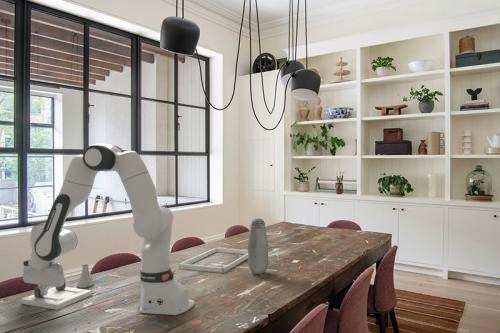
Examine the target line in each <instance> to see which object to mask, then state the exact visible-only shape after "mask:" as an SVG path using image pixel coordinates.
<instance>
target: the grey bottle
mask: <svg viewBox="0 0 500 333" xmlns="http://www.w3.org/2000/svg"><path fill="white" fill-rule="evenodd" d="M249 227H250V229H249V234H248V239H247V250H248V259H247V261H248V268H249V271H251V273H252V274H255V275H262V274H264V273H266V272H267V271H268V267H269V239H268V235H267V231H266V230H267V229H266V223H265V221H264V219H261V218H260V217H259V218H254V219H253V220H252V221H251V223H250V226H249Z"/></svg>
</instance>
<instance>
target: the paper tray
mask: <svg viewBox="0 0 500 333" xmlns="http://www.w3.org/2000/svg"><path fill="white" fill-rule="evenodd" d="M221 252H222V254H223V253H224V254H234V253H235V255H236V254H237V255H242V256H240V257H239V258H237V259H236V260H233V261H232V262H229V263H228V264H227V265H225V266H223V267H220V266H208V265H201V264H200V265H198V264H193V263H195V262H198V261H199V260H202V259H204V258H206V257H209V256H211V255H213V254H214V253H221ZM208 255H209V256H208ZM245 260H248V249H237V248H236V249H235V248H224V247H223V248H222V247H214V248H211V249H210V250H207V251H205V252H202V253H201V254H198V255H196V256H193V257H191V258H189V259H186V260H184V261H182V262H180V263H178V269H180V270H181V269H182V270H187V271H188V270H190V271H198V272H199V271H200V272H208V273H209V272H210V273H219V274H224V273H226V272H228V271H230V270H231V269H233V268H234V267H236V266H238V265H239V264H241V263H243V262H245Z"/></svg>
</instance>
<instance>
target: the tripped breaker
mask: <svg viewBox="0 0 500 333" xmlns="http://www.w3.org/2000/svg"><path fill="white" fill-rule="evenodd" d="M33 289H34V292H33V295H34V297H37V298H39V297H42V296H44V295H41V291H40V289H39V287H38V286H36V287H34V288H33Z"/></svg>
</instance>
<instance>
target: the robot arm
mask: <svg viewBox="0 0 500 333" xmlns="http://www.w3.org/2000/svg"><path fill="white" fill-rule="evenodd" d="M114 171H115V172H116V173H117V174H118V176H119V178H120V181H121V183H122V186H123V187H124V190H125V193H126V195H127V197H128V200H129V203H130V207H131V211H132V212H131V213H132V216H133V230H134V232H135V234H136V235H137V236H139V237H140V238H143V244H142V247H141V251H140V253H141V254H140V258H141V259H140V262H141V263H140V264H141V265H140V266H141V270H140V276H139V277H140V281H141V285H140V286H141V287H140V295H139V301H138V303H137V308H138V309H139V313H140V314H141V313H142V314H154V315H168V316H170V315H171V316H176V315H180V314H182V313H186V312H188V311H189V310H190V309H192V308H193V307H194V305H195V300H193V299H190V298H189V292H188V290H187V288H186V287H185V286H184V285H183V284H181V283H180V282H179V281H178V280H176V278H175V277H174V276H175V274H176V270H174V271H172V269H171V266H170V265H171V264H170V262H171V261H170V257H171V256H170V248H171V247H170V246H171V238H172V237H171V236H172V228H173V227H172V226H173V222H174V214H173V212H172V211H171V209H169V208H168V207H166V206H163V205H161V206H160V205H159V202H158V195H157V188H156V186H155V184H154V181H153V178H152V177H151V174H150V172H149V170H148V168H147V166H146V164H145V162H144V160H143V159H142V157H141V156H140V154H139V153H138V152H137V151H136V150H135V151H134V150H126V151H124V150H123V148H121V147H119V146H117V145H112V144H107V143H94V144H91V145H89V146H87V147H86V148H85V149H84V151H83V153H82V154H79V155H78V154H77V155H75V156H74V157H72V159H71V161H70V162H69V165H68V166H67V170H66V173H65V175H64V178H63V182H62V186H61V188H60V191H59V192H58V195H57V196H56V197H55V200H54V202H53V204H52V206H51V208H50V211H49V213H48V215H47V219H46V221H45V222H42V223H37V224H34V225H33V226H32V228H31V231H30V238H29V239H30V248H31V253H30V258H28V259H25V260H23V261H22V266H23V267H22V280H23V281H24V284H31V285H32V284H33V285H37V287H39V289H40V291H41V295H44V296H45V295H47V294H48V289H50V287H52V288H54V287H59V286H62V285H63V284H64V283H65V284H66V279H65V273H64V269H63V266H62V265H61V264H60V263H59V262H56V259H57V258H58V257H60V256H64V255H66V254H68V253H70V252H72V251H74V250H75V249H76V247H77V245H78V241H79V240H78V237H77V234H76V233H75V232H74V231H73V230H70V229H65V228H63V227H64V224H65V222H66V220H67V217H68V215H69V214H70V213H71V212H72V211H73V210H74V209H75V208H77V207H78V206H80V205H81V204H83V203H85V202H86V201H87V200H88V198H89V197H90V195H91V193H92V191H93V186H94V183H95V178H96V176H97V174H98V173H99V172H104V173H105V172H114Z"/></svg>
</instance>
